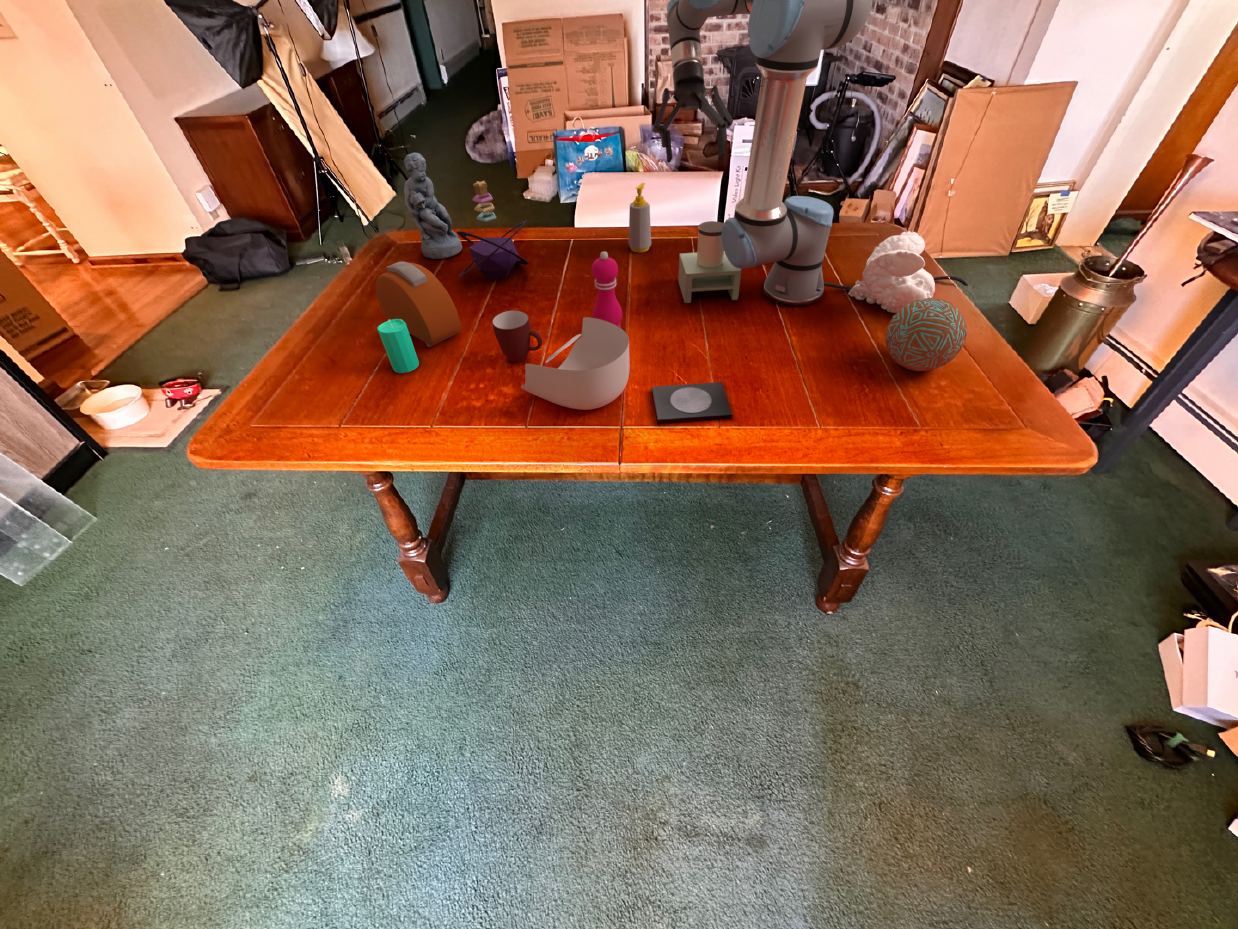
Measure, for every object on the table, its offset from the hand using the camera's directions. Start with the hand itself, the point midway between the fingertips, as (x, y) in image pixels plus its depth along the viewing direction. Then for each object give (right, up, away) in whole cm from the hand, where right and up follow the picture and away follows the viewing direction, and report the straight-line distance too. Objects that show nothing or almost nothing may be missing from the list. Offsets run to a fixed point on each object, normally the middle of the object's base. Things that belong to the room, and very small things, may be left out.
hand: (696, 158), depth 141 cm
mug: (-42, -53, -11) cm, 68 cm away
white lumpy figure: (+49, -36, +2) cm, 61 cm away
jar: (+4, -25, +3) cm, 25 cm away
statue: (-76, -11, +33) cm, 83 cm away
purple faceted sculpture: (-54, -23, +20) cm, 62 cm away
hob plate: (-5, -65, -25) cm, 70 cm away
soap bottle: (-13, -12, +29) cm, 34 cm away
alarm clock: (-69, -44, 0) cm, 81 cm away
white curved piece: (-27, -61, -20) cm, 70 cm away
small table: (+4, -31, +9) cm, 32 cm away
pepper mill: (-22, -45, -4) cm, 50 cm away
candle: (-69, -55, -11) cm, 89 cm away
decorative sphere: (+45, -56, -18) cm, 74 cm away
